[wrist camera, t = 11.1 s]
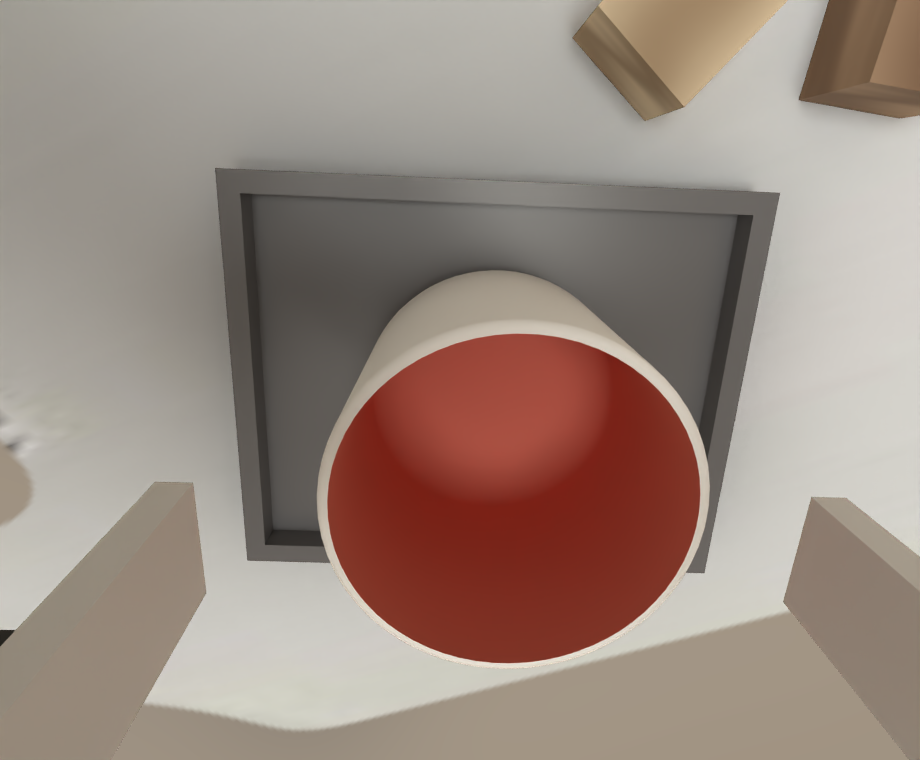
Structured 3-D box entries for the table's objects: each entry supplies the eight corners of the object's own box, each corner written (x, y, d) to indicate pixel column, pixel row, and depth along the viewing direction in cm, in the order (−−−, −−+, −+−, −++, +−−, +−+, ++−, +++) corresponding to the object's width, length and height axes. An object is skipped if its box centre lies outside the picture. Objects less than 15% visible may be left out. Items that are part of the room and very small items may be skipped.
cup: (473, 534, 27) (484, 728, 17) (319, 372, 24) (231, 493, 15) (657, 401, 25) (786, 534, 15) (510, 210, 22) (552, 227, 13)
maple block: (572, 38, 21) (598, 5, 17) (655, -56, 20) (702, -112, 17) (644, 121, 22) (684, 106, 18) (727, 34, 21) (787, 0, 17)
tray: (261, 534, 27) (247, 560, 25) (235, 170, 22) (215, 168, 20) (686, 547, 28) (704, 573, 26) (752, 192, 23) (780, 192, 21)
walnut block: (797, 100, 22) (869, 82, 18) (835, -23, 21) (920, -70, 17) (898, 118, 22) (989, 104, 18) (940, -2, 21) (1048, -44, 17)
